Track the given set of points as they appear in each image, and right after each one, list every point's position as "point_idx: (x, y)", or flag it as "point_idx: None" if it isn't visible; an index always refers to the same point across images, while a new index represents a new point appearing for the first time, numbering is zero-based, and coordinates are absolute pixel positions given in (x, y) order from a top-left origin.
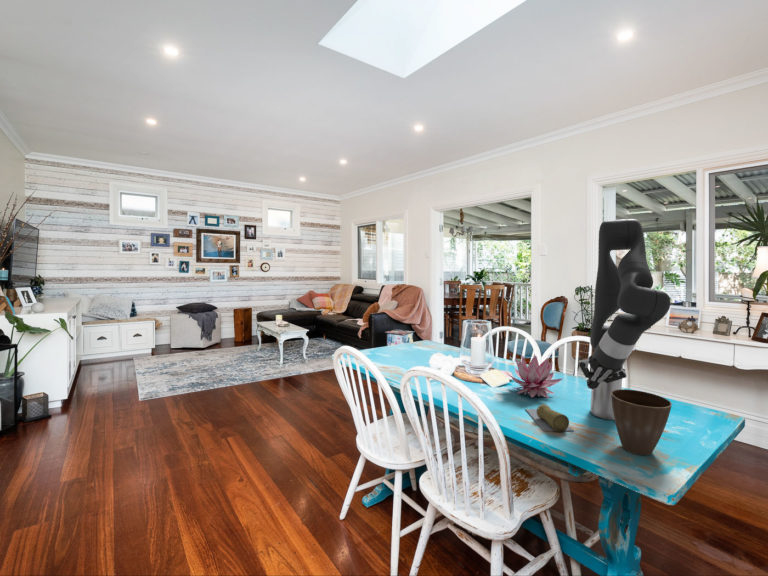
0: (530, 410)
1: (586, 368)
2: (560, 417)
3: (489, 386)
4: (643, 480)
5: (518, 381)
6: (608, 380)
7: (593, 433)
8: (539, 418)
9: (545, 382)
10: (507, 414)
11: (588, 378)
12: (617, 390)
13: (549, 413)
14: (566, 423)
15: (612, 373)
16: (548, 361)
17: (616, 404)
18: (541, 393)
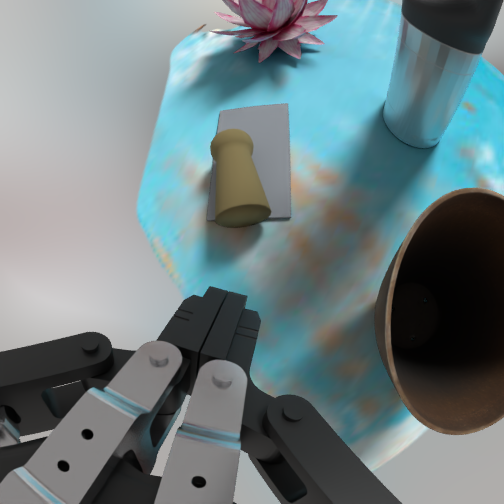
0: (228, 116)
1: (35, 418)
2: (236, 210)
3: (203, 37)
4: None
5: (225, 34)
6: (270, 467)
7: (342, 225)
8: None
9: (303, 20)
10: (167, 144)
11: (166, 328)
12: (447, 200)
13: (218, 181)
14: (262, 212)
15: (313, 499)
16: None
17: (380, 331)
18: (289, 47)
